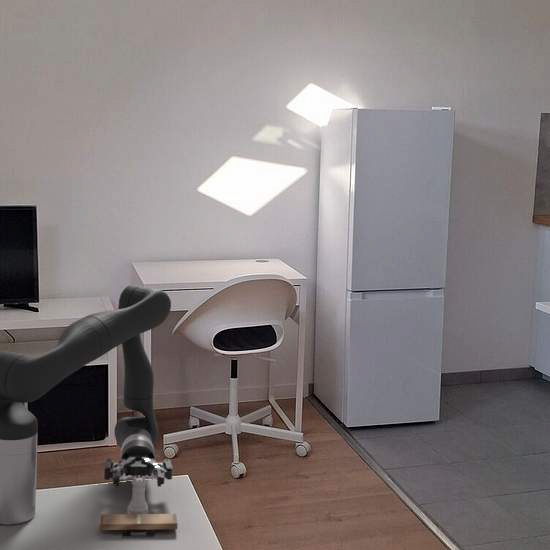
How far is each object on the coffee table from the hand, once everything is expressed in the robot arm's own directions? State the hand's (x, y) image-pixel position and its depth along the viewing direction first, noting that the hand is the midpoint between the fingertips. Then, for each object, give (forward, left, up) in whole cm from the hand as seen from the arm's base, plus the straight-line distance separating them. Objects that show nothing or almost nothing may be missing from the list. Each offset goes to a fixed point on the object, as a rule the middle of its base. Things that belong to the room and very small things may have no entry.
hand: (138, 482), depth 173 cm
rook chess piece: (+1, -1, -7) cm, 7 cm away
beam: (+4, -7, -5) cm, 10 cm away
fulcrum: (+4, -7, -7) cm, 10 cm away
